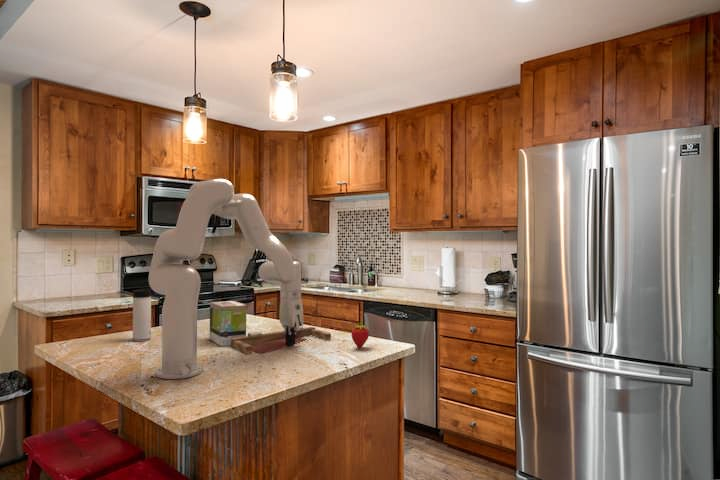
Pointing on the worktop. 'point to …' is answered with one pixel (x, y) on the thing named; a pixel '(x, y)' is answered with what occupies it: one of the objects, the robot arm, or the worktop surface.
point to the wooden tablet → (273, 345)
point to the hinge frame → (273, 338)
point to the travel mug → (142, 314)
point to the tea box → (227, 321)
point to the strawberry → (360, 335)
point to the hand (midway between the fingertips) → (290, 344)
